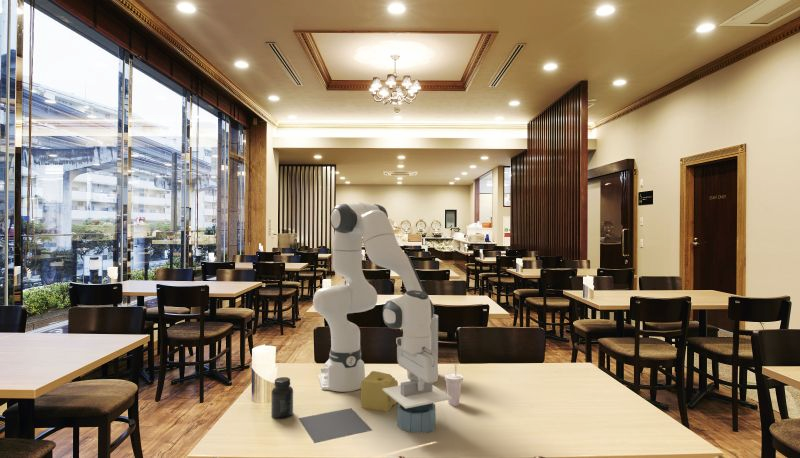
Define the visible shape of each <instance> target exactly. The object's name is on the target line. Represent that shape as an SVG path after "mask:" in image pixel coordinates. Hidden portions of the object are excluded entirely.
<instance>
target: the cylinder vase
mask: <svg viewBox="0 0 800 458" xmlns="http://www.w3.org/2000/svg"><path fill="white" fill-rule="evenodd" d="M430 331H431V350H432V351H433V354H434V355H435V357H436V359H437V364H438V365H439V362H438V361H439V358H438V357H439V315H438V314H435V313H434V315H433V318H432V320H431V323H430ZM406 373H407V377H408V378H409V374H408V371H407V370H406ZM416 380H418V377H417V376H416Z"/></svg>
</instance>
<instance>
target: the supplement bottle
mask: <svg viewBox="0 0 800 458" xmlns="http://www.w3.org/2000/svg"><path fill="white" fill-rule="evenodd" d="M270 395H271V398H270V399H271V400H270V401H271V405H270V406H271V411H270V412H271V413H270V414H271V418H272V419H274V420H285V419H289V418H291V417H292V416H293V415H294V389H293V387H292V386H291V378H289V377H288V376H287V377H286V376H284V377H277V378H275V380H274V387H273V388H272V389H271V393H270Z"/></svg>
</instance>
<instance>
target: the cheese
mask: <svg viewBox="0 0 800 458" xmlns="http://www.w3.org/2000/svg"><path fill="white" fill-rule="evenodd" d="M394 386H399V384H398V380H397V379H395V377H393V375H391V374H390V373H387V372H386V373H385V372H381V371H375V370H373V371H371V372H369V374H368V375H367V376H365V379H363V380H362V382H361V388H360V405H361V409H368V410H375V411H376V410H377V411H382V412H389V411H390V410H391V409H392V407H393V406H395V405H396V404H398V402H397V401H396V400H394V399H393V398H392V397H390V396H389V395H388V394H387V393H385V392H384V391H383V388H388V387H394Z"/></svg>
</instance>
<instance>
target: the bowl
mask: <svg viewBox="0 0 800 458" xmlns="http://www.w3.org/2000/svg"><path fill="white" fill-rule="evenodd" d="M396 412H397V413H396V419H397V420H396V425H397V427H398V428H399V429H400V430H401V431H405V432H408V433H414V434H415V433H420V434H421V433H427V434H428V433H430V432H433V431H434V430H435V429H436V404H435V403H431V404H426V405H421V406H416V407H411V408H404V407H403V406H402V405H401V404H399V403H398V402H397V407H396ZM433 429H434V430H433Z"/></svg>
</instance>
